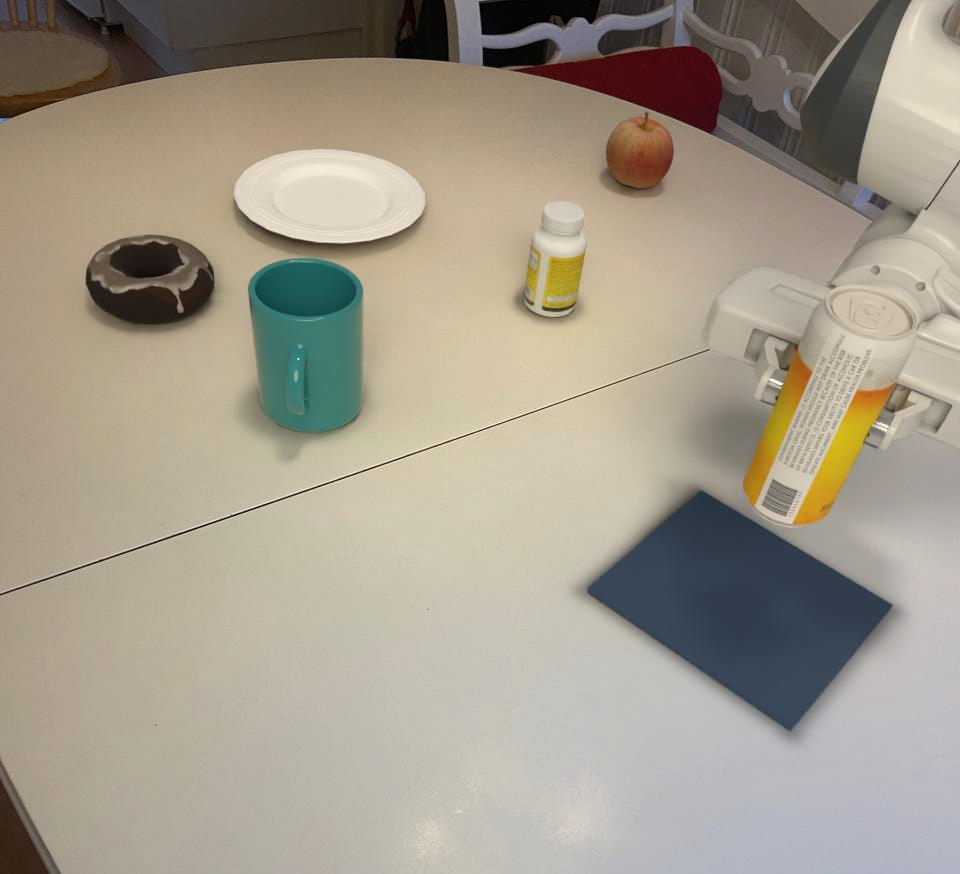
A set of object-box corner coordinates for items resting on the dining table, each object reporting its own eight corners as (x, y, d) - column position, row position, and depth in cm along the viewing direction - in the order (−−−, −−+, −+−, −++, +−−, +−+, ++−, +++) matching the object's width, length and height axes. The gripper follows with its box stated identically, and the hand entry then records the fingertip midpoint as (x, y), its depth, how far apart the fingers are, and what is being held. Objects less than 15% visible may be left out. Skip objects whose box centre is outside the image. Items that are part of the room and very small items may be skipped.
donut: (87, 334, 88) (77, 295, 85) (94, 265, 95) (85, 227, 92) (218, 330, 90) (213, 292, 87) (215, 263, 97) (210, 225, 94)
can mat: (890, 609, 75) (893, 604, 75) (790, 731, 67) (793, 726, 66) (699, 494, 82) (701, 489, 81) (587, 592, 73) (588, 587, 73)
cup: (243, 453, 80) (228, 335, 71) (270, 367, 87) (259, 251, 79) (352, 463, 80) (350, 348, 71) (369, 377, 88) (369, 263, 79)
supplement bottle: (584, 303, 99) (602, 210, 91) (557, 325, 96) (574, 231, 88) (540, 283, 101) (554, 191, 93) (512, 304, 98) (524, 210, 90)
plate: (351, 281, 97) (350, 263, 96) (194, 212, 103) (191, 194, 102) (460, 205, 109) (461, 188, 108) (314, 147, 115) (314, 131, 114)
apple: (599, 163, 119) (612, 95, 113) (662, 171, 120) (678, 103, 113) (601, 194, 114) (615, 124, 108) (667, 202, 115) (684, 132, 108)
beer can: (834, 491, 68) (932, 301, 56) (816, 545, 64) (916, 353, 52) (752, 462, 69) (830, 269, 57) (729, 513, 65) (808, 318, 54)
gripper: (757, 224, 68) (683, 311, 60) (1049, 329, 63) (1009, 440, 55) (731, 304, 73) (659, 394, 65) (999, 407, 68) (956, 519, 60)
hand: (822, 416), depth 60 cm, fingers closed on beer can, 6 cm apart
